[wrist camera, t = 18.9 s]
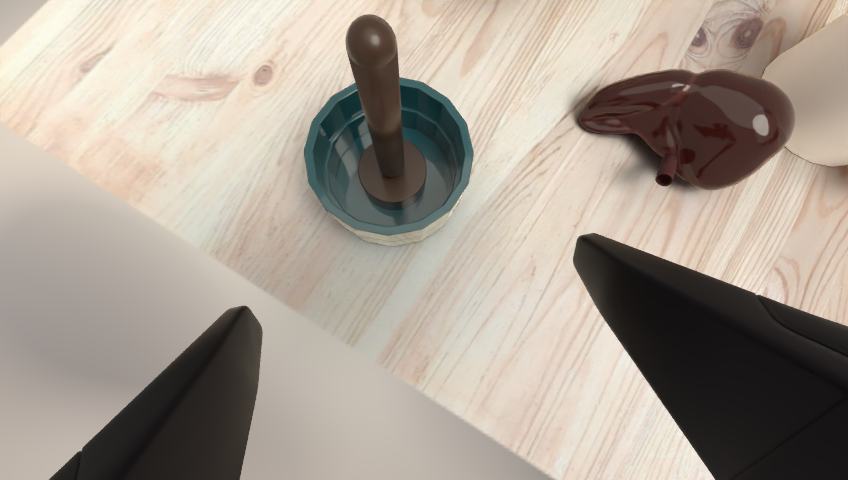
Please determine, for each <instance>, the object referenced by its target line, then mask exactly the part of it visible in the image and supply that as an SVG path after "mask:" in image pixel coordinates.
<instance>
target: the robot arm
mask: <svg viewBox="0 0 848 480" xmlns="http://www.w3.org/2000/svg"><path fill="white" fill-rule="evenodd" d="M573 263H574V266H575V268H576V270H577V272H578V274H579V276H580V278H581V279H582V281H583V283H584V285H585V287H586V289H587V290H588V292H589V294H590V296H591V298H592V300H593V301H594V303H595V305H596V307H597V309H598V310H599V312H600V313H601V315H602V317H603V318H604V320H605V321H606V322H607V324H608V325H609V327H610V328H611V330H612V331H613V333H614V334H615V335H616V337H617V338H618V340H619V341H620V343H621V344H622V346H623V347H624V348H625V350H626V351H627V353H628V354H629V356H630V357H631V359H632V360H633V361H634V363H635V364H636V366H637V367H638V369H639V370H640V372H641V373H642V374H643V376H644V377H645V379H646V380H647V382H648V383H649V385H650V386H651V387H652V389H653V390H654V392H655V393H656V395H657V396H658V398H659V399H660V400H661V402H662V403H663V405H664V406H665V408H666V409H667V410H668V412H669V413H670V415H671V416H672V418H673V419H674V421H675V422H676V423H677V425H678V426H679V428H680V429H681V431H682V432H683V434H684V435H685V436H686V438H687V439H688V441H689V442H690V444H691V445H692V447H693V448H694V449H695V451H696V452H697V454H698V455H699V457H700V458H701V460H702V461H703V462H704V464H705V465H706V467H707V468H708V470H709V471H710V473H711V474H712V475H713V477H714V478H715V480H848V326H845V325H842V324H839V323H836V322H833V321H830V320H827V319H824V318H821V317H818V316H815V315H812V314H809V313H807V312H804V311H801V310H798V309H796V308H793V307H790V306H787V305H785V304H782V303H779V302H777V301H774V300H771V299H769V298H766V297H763V296H761V295H756V294H755V293H753V292H750V291H747V290H745V289H742V288H739V287H737V286H734V285H731V284H729V283H726V282H723V281H721V280H718V279H715V278H713V277H710V276H707V275H705V274H702V273H699V272H697V271H694V270H691V269H689V268H686V267H684V266H681V265H678V264H676V263H673V262H670V261H668V260H665V259H662V258H660V257H657V256H654V255H652V254H649V253H646V252H644V251H641V250H638V249H636V248H633V247H630V246H628V245H625V244H622V243H620V242H617V241H614V240H612V239H609V238H606V237H604V236H601V235H598V234H596V233H591V234H586V235H581V236H579V237H578V239H577V242H576V247H575V252H574V256H573ZM261 345H262V327H261V325H260V323H259V322H258V320H257V319H256V317H255V316H254V314H253V313H252V311H251V310H250V309H249V308H248V307H247V306H239V307H235V308H231V309H228V310H227V311H226V312H225V313H224V314H223V315H222V316H220V317H219V318H218V319H217V320H216V321H215V322H214V323H213V324H212V325H211V326H210V327H209V328H208V329H207V330H206V331H205V332H204V333H203V334H202V335H201V336H199V337H198V339H196V340H195V341H194V342H193V343H192V344H191V345H190V346H189V347H188V348H187V349H186V350H185V351H184V352H183V353H182V354H181V355H180V356H179V357H177V358H176V359H175V361H173V362H172V363H171V364H170V365H169V366H168V367H167V368H166V369H165V370H164V371H163V372H162V373H161V374H160V375H159V376H158V377H157V378H155V380H153V381H152V382H151V383H150V384H149V385H148V386H147V387H146V388H145V389H144V390H143V391H142V392H141V393H140V394H139V395H138V396H137V397H135V399H133V401H131V402H130V403H129V404H128V405H127V406H126V407H125V408H124V409H123V410H122V411H121V412H120V413H119V414H118V415H117V416H115V418H113V419H112V420H111V421H110V422H109V423H108V424H107V425H106V426H105V427H104V428H103V429H102V430H101V431H100V432H99V433H98V434H97V435H95V436H94V437H93V438H92V439H91V440H90V441H89V442H88V443H87V444H86V445H85V446H84V447H83V449H82V451H79V452H78V453H76V454H75V455H74V456H73V457H72V458H71V459H70V460H69V461H68V462H67V463H66V464H65V465H64V466H63V467H62V468H61V469H60V470H59V471H58V472H57V473H55V474H54V475H53V476H52V477H51V478H50V479H49V480H240V475H241V470H242V465H243V459H244V455H245V450H246V445H247V440H248V435H249V430H250V425H251V420H252V415H253V410H254V405H255V400H256V395H257V388H258V380H259V368H260V357H261Z"/></svg>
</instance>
